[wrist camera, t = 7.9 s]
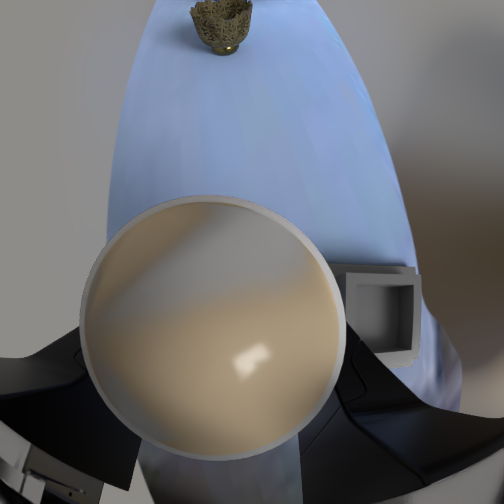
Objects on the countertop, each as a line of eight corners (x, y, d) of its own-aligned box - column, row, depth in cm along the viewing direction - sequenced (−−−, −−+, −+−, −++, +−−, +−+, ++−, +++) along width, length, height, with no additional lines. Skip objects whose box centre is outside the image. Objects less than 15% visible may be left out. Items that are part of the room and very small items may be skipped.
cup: (202, 70, 28) (192, 21, 20) (195, 44, 29) (186, 1, 22) (259, 59, 28) (260, 10, 20) (245, 34, 30) (244, -8, 22)
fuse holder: (406, 364, 20) (427, 370, 17) (315, 370, 21) (326, 380, 17) (409, 268, 22) (430, 262, 19) (320, 265, 23) (332, 256, 19)
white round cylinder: (287, 340, 14) (374, 412, 3) (218, 361, 14) (129, 468, 3) (265, 273, 15) (290, 164, 4) (197, 294, 14) (63, 243, 4)
